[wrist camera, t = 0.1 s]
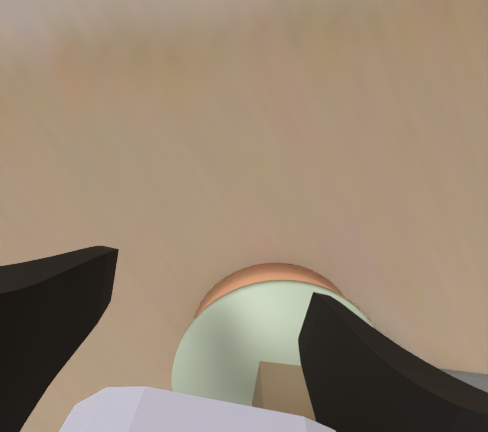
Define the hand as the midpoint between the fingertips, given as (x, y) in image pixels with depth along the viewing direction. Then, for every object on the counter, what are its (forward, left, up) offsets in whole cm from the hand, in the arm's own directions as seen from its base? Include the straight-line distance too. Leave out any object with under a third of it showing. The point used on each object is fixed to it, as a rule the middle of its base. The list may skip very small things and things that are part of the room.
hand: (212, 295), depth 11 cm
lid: (-8, -5, -6) cm, 11 cm away
